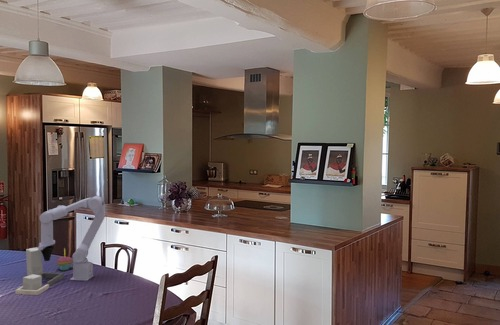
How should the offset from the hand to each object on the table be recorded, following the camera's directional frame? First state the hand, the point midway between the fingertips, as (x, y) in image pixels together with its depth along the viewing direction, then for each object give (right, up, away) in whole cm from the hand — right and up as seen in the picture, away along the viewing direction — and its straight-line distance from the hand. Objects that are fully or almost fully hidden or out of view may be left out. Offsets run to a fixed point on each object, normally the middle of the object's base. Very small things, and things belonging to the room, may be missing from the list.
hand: (47, 260), depth 231 cm
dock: (+1, -10, -4) cm, 11 cm away
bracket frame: (+1, -11, -17) cm, 20 cm away
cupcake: (+1, -9, +19) cm, 22 cm away
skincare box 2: (+1, -11, -18) cm, 21 cm away
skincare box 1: (-9, -10, +5) cm, 14 cm away
